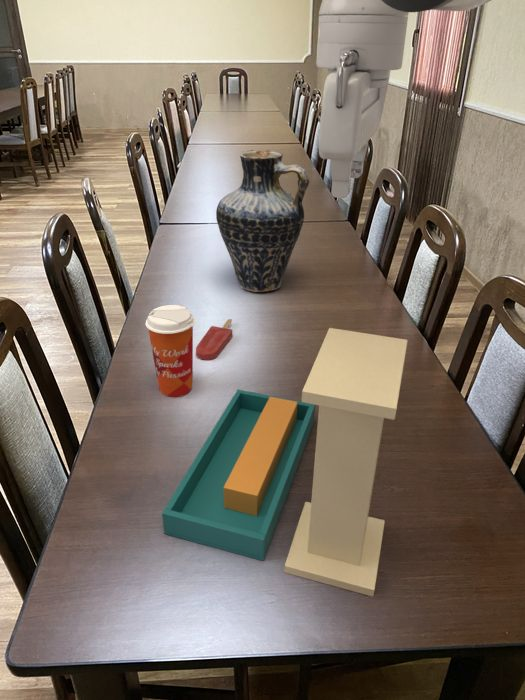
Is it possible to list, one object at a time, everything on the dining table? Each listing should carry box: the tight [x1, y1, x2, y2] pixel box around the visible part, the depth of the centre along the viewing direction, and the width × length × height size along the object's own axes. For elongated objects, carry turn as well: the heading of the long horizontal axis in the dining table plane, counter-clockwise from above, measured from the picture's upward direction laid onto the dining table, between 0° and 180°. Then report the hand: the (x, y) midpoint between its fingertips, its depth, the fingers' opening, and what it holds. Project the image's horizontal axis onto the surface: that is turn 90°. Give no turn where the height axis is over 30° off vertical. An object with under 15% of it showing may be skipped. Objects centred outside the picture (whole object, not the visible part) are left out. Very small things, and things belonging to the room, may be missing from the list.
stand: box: [283, 327, 408, 598], centre depth 57 cm, size 12×10×26 cm
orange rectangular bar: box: [224, 396, 298, 516], centre depth 75 cm, size 20×4×4 cm, turn 163°
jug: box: [215, 149, 310, 293], centre depth 121 cm, size 21×19×30 cm
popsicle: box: [195, 318, 234, 361], centre depth 105 cm, size 4×2×15 cm
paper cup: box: [145, 304, 197, 398], centre depth 88 cm, size 8×8×14 cm
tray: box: [161, 389, 316, 562], centre depth 73 cm, size 27×13×4 cm, turn 163°
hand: (347, 185), depth 62 cm, fingers open, 8 cm apart
